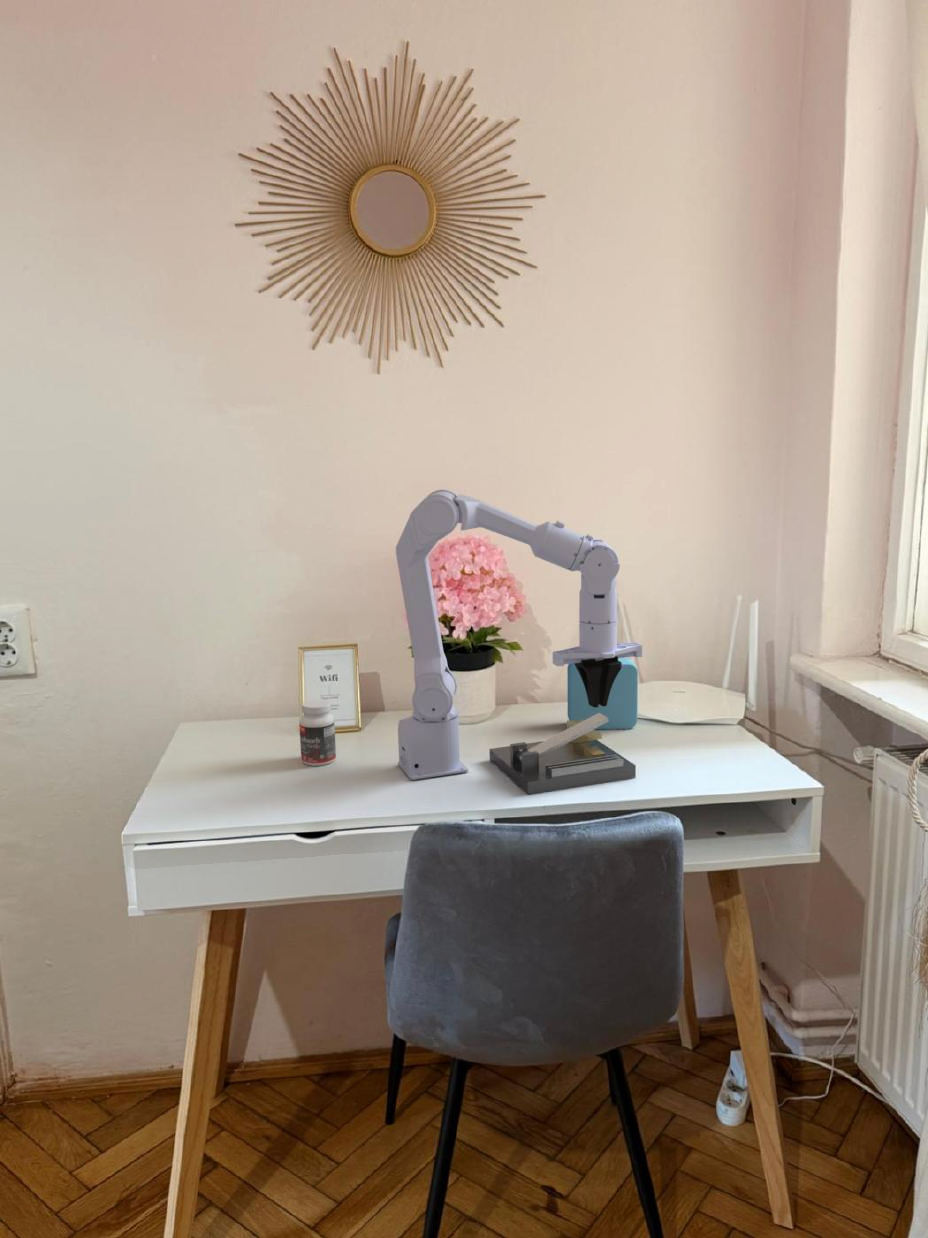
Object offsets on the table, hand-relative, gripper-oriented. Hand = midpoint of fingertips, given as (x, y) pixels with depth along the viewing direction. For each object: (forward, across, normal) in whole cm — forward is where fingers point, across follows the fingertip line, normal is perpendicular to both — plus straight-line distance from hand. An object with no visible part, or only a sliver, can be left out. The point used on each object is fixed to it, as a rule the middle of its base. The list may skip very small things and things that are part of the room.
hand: (597, 705), depth 157 cm
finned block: (+10, -5, +2) cm, 12 cm away
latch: (+8, +1, +6) cm, 10 cm away
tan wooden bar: (+5, -6, 0) cm, 8 cm away
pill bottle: (+11, -40, +21) cm, 47 cm away
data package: (+11, +10, +19) cm, 24 cm away
